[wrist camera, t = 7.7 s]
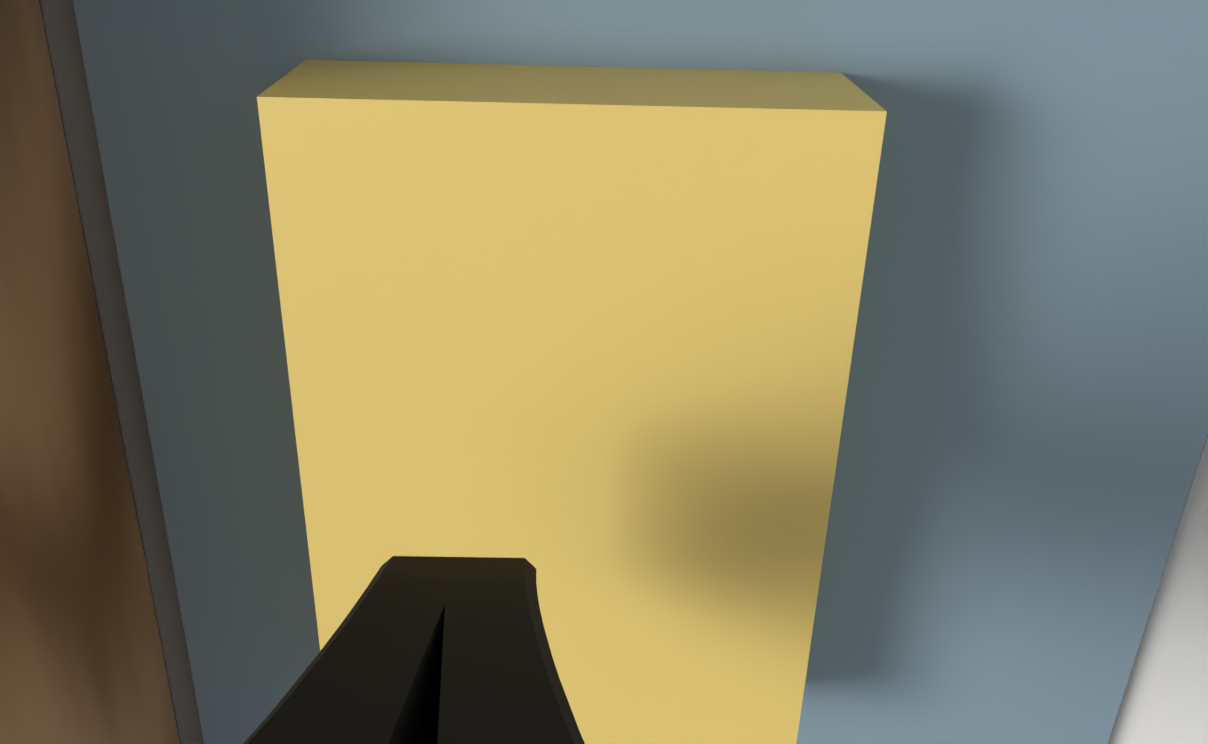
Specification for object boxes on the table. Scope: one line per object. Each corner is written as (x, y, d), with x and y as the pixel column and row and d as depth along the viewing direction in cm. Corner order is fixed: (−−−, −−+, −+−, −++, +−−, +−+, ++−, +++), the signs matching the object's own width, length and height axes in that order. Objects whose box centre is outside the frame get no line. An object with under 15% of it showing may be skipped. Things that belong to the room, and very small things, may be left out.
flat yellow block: (336, 789, 14) (364, 682, 16) (789, 790, 14) (765, 684, 16) (256, 97, 10) (305, 60, 12) (887, 110, 10) (841, 72, 12)
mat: (1051, 880, 18) (1058, 895, 18) (235, 876, 18) (230, 892, 18) (1446, -369, 11) (1469, -375, 10) (9, -435, 10) (-6, -443, 10)
